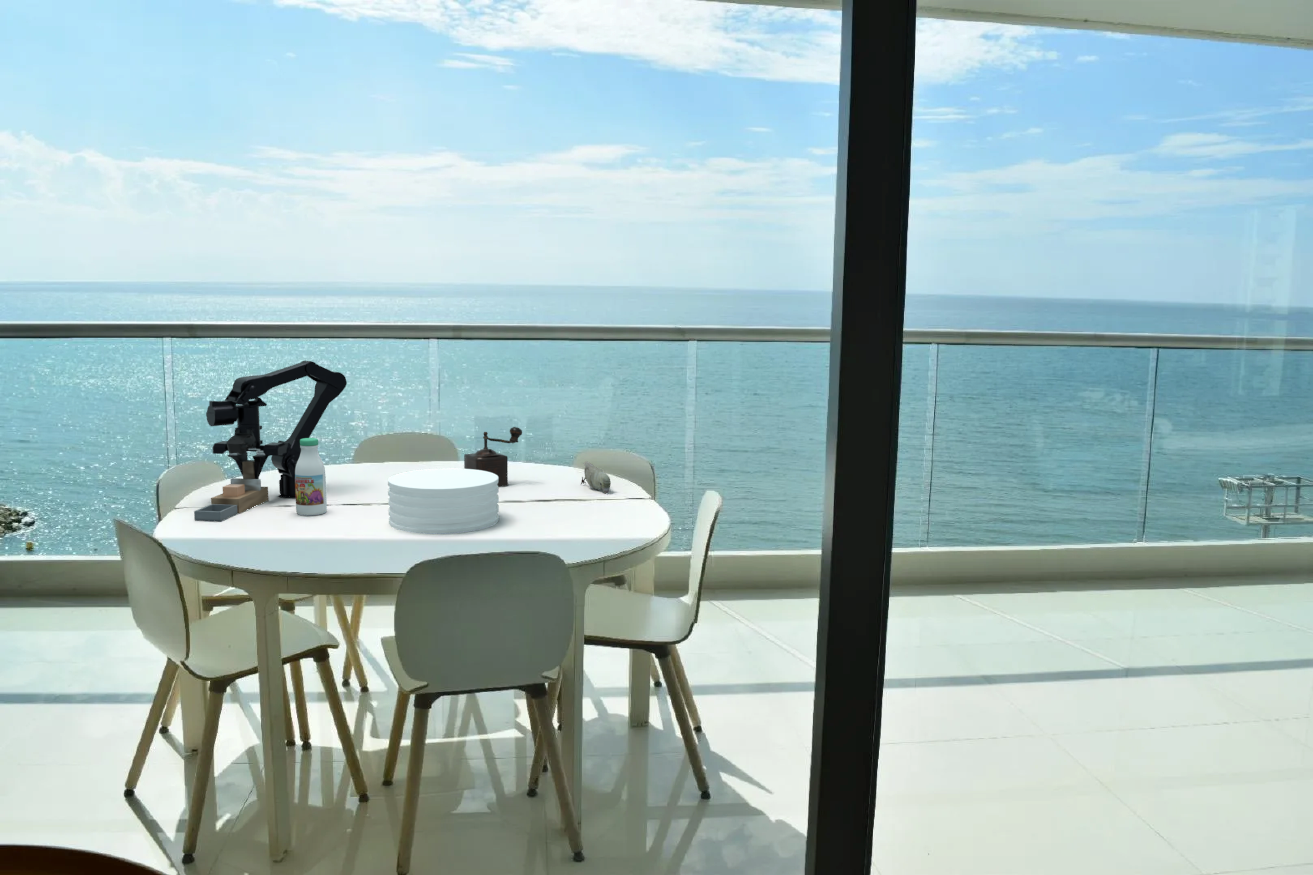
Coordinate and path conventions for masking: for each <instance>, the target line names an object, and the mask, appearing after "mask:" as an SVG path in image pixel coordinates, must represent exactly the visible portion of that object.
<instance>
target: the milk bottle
mask: <svg viewBox="0 0 1313 875" xmlns="http://www.w3.org/2000/svg"><path fill="white" fill-rule="evenodd" d="M318 447H319V439H318V438H316V437H309V438H303V439H300V448H301V453H300V457H299V459H298V462H297V464H296V468H295V493H296V498H295V510H296V514H297V515H300V516H318V515H323V514H325V513H326V512H327V510H328V509H327V508H328V507H327V505H328V504H327V482H326V481H327V480H326V477H327V476H326V467H325V465H324V464H325V463H324V461H323V460H322V458H321V456H320V454H319V450H318Z"/></svg>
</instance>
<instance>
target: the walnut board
mask: <svg viewBox="0 0 1313 875" xmlns="http://www.w3.org/2000/svg"><path fill="white" fill-rule="evenodd" d="M269 500H270V499H269V486H261V490H260V491H251V490H245V494H242V495H240V496H238V497H237V496H223V492H222V493H220V494H218V495H215V496H212V497H211V498H210V505H211V504H224V505H237V513H238V514H237V515H239V514H242V513H244V512H247V511H248V510H247V509H249V510H251V509H253V508H255V507H254V506H256V505H258V506H260V505H262V504H264V503H263V502H265V501H267V502H269ZM261 503H262V504H261ZM265 503H266V502H265ZM252 507H253V508H252ZM256 507H257V506H256ZM246 510H247V511H246Z"/></svg>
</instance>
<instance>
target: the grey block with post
mask: <svg viewBox="0 0 1313 875" xmlns="http://www.w3.org/2000/svg"><path fill="white" fill-rule="evenodd" d="M242 466H243V476H242V478H235V477H234V478H230V484H244V486H245V490H251V491H260V490H261V487H262V481H261V480H262V479H260V477H259V478H258V479H255V461H254V459H253V460H252V459H247V460H246V461H244V462H242Z"/></svg>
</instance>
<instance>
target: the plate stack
mask: <svg viewBox="0 0 1313 875" xmlns="http://www.w3.org/2000/svg"><path fill="white" fill-rule="evenodd" d="M497 484H498V476H497V475H496V474H494V473H491V472H487V471H482V470H474V469H464V468H456V467H454V468H451V467H450V468H429V469H428V468H425V469H417V470H416V469H415V470H410V471H405V472H400V473H397V474H393V475H391V476H389V478H387V485H388V489H387V490H388V491H387V495H388V498H387V499H388V502H387V504H388V506H389V507H388V516H389V517H388V525H389V527H391V528H393V529H395V530H399V531H403V532H406V533H408V532H409V533H413V534H429V535H431V534H433V535H434V534H435V535H442V534H443V535H444V534H458V533H467V532H474V531H479V530H483V529H486V528H490V527H492V526H494V525H496V524H497V523H498V522H499V519H500V517H499V508H500V507H499V504H498V503H499V501H500V499H499V498H500V496H499V495H498V493H499V487H498V485H497Z"/></svg>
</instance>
